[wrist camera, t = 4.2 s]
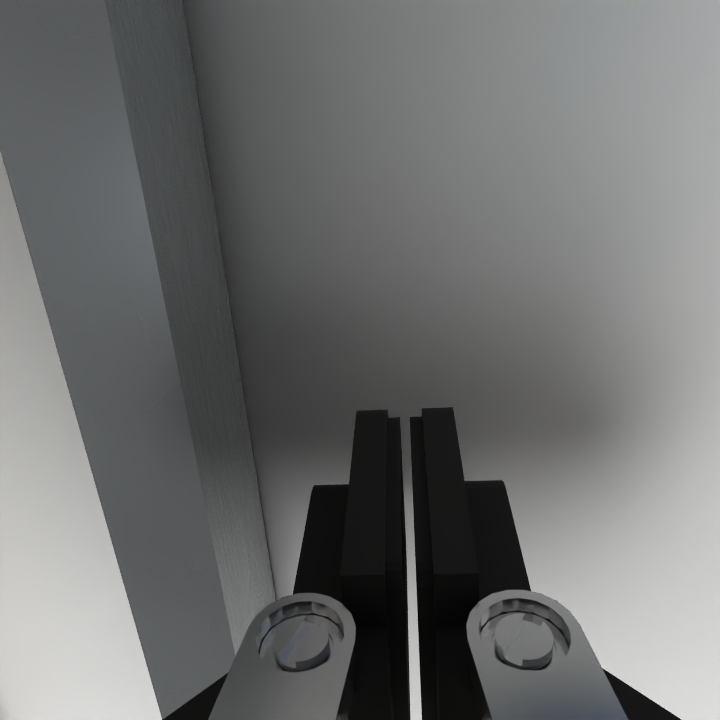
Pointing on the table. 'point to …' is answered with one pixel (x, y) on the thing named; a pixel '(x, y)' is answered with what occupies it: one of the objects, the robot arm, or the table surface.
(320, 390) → the table surface
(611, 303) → the table surface
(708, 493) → the table surface
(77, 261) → the long gray metal bar
